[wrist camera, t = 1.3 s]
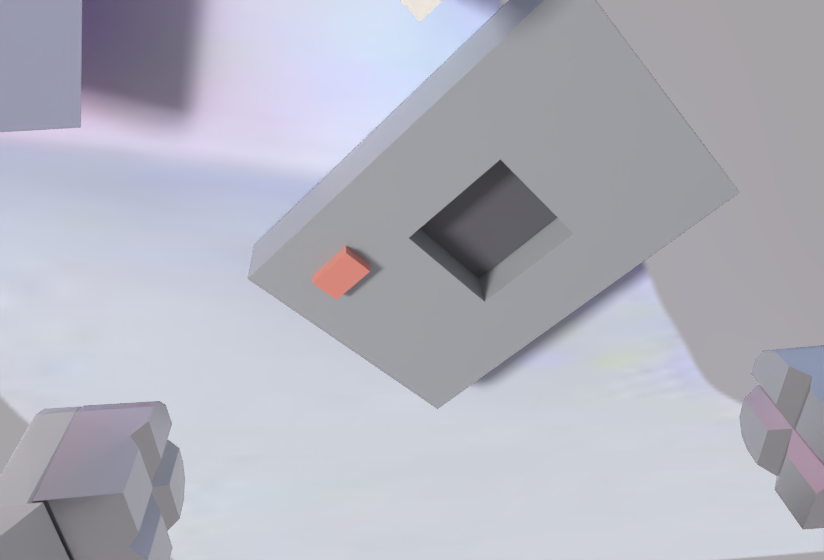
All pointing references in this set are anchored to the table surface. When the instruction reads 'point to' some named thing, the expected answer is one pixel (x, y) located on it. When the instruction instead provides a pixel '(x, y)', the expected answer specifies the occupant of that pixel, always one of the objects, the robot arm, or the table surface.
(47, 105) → the wedge on round base
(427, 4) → the plug
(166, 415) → the robot arm
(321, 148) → the table surface
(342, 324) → the socket plate
